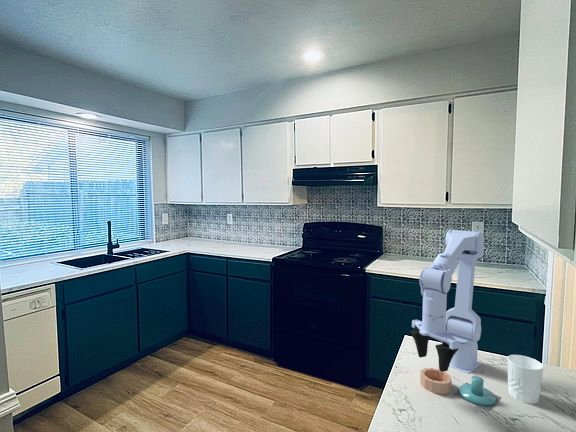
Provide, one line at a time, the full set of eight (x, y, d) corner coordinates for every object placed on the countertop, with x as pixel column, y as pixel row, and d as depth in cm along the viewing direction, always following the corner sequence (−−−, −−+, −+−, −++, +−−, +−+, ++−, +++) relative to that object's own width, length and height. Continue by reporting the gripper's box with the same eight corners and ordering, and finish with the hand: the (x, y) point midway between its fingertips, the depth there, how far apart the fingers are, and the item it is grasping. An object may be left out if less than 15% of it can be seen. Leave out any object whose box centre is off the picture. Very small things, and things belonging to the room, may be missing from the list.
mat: (466, 383, 94) (466, 382, 94) (501, 398, 87) (501, 397, 87) (452, 395, 89) (452, 394, 89) (489, 412, 82) (489, 411, 82)
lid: (466, 383, 94) (467, 367, 94) (500, 397, 87) (501, 380, 87) (453, 394, 89) (454, 377, 88) (488, 410, 82) (489, 392, 82)
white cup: (548, 408, 84) (550, 371, 83) (514, 404, 85) (515, 367, 85) (531, 390, 91) (533, 356, 91) (500, 387, 93) (502, 353, 92)
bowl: (428, 375, 98) (429, 365, 98) (455, 387, 92) (456, 376, 92) (415, 385, 93) (415, 374, 93) (442, 399, 87) (443, 386, 87)
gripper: (403, 306, 91) (402, 353, 92) (443, 326, 78) (441, 380, 79) (423, 303, 94) (422, 349, 94) (465, 322, 80) (463, 375, 81)
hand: (432, 363), depth 87 cm, fingers open, 7 cm apart
